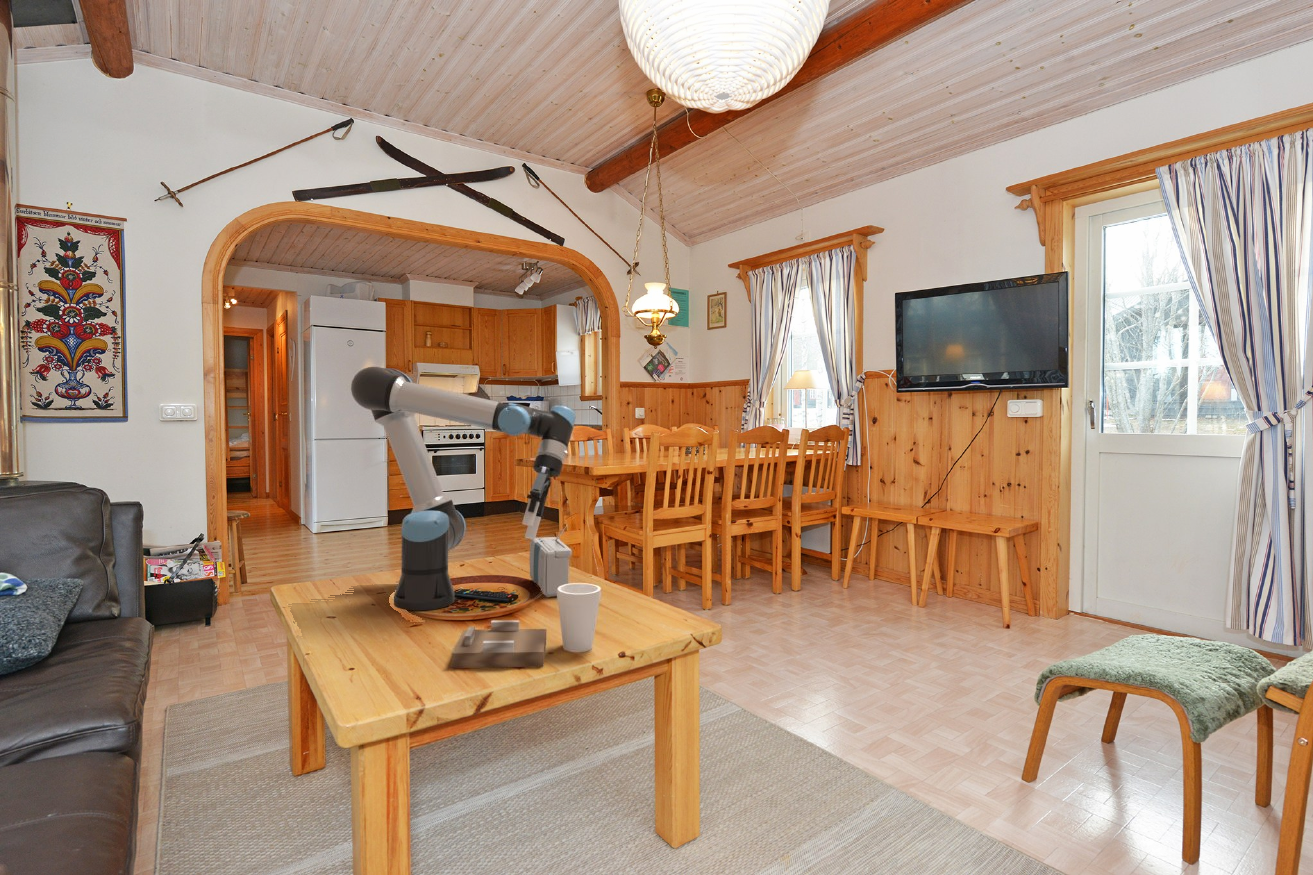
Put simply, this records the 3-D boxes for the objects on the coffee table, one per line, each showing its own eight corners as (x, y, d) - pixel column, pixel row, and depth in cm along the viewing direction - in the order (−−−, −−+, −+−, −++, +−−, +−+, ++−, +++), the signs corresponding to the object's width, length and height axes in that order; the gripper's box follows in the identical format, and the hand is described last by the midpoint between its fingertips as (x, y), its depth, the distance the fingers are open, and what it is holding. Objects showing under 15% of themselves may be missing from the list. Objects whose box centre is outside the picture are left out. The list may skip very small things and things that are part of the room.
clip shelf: (451, 668, 136) (451, 643, 135) (463, 643, 150) (463, 620, 150) (543, 666, 138) (543, 642, 138) (546, 642, 152) (546, 620, 152)
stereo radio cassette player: (528, 580, 205) (529, 514, 205) (555, 578, 208) (556, 513, 208) (542, 599, 186) (544, 526, 185) (572, 597, 189) (573, 525, 188)
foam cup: (608, 647, 150) (609, 589, 149) (576, 658, 143) (577, 596, 142) (579, 637, 156) (580, 580, 156) (547, 646, 149) (548, 588, 149)
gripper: (563, 445, 176) (541, 522, 168) (563, 477, 199) (543, 547, 190) (534, 438, 176) (511, 515, 168) (538, 471, 199) (517, 540, 190)
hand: (528, 532), depth 179 cm, fingers open, 13 cm apart
